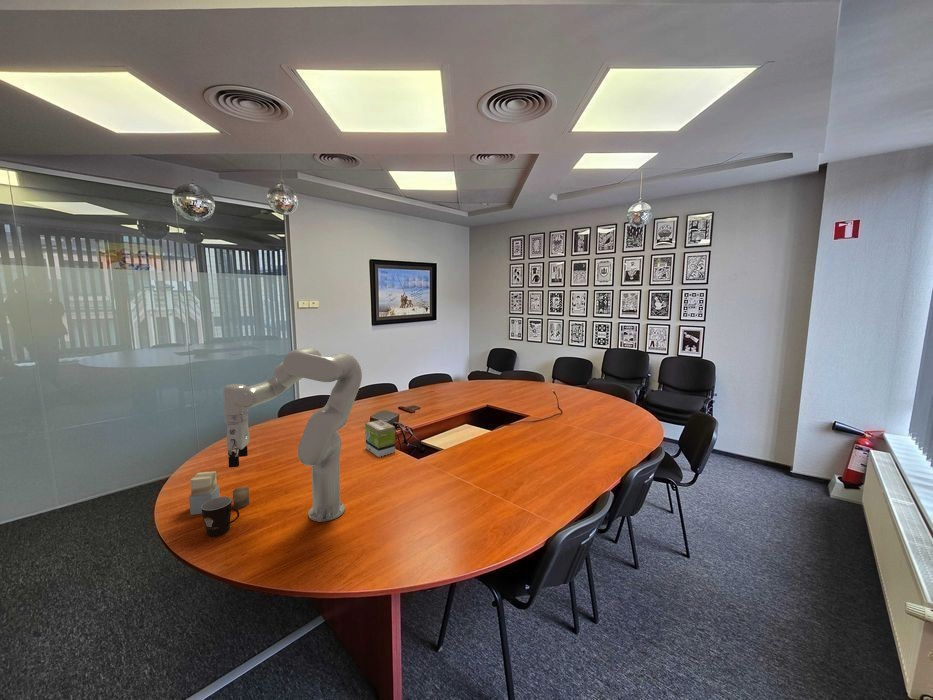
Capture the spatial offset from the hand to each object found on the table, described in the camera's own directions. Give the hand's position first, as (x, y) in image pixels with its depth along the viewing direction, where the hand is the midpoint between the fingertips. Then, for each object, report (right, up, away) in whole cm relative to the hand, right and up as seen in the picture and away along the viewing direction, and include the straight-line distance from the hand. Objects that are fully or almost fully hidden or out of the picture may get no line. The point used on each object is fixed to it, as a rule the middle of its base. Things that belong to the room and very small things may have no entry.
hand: (238, 461), depth 139 cm
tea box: (+40, -12, +57) cm, 71 cm away
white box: (-12, -17, -1) cm, 21 cm away
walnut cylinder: (0, -17, +2) cm, 17 cm away
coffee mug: (+4, -19, -16) cm, 25 cm away
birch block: (-12, -10, -2) cm, 16 cm away
